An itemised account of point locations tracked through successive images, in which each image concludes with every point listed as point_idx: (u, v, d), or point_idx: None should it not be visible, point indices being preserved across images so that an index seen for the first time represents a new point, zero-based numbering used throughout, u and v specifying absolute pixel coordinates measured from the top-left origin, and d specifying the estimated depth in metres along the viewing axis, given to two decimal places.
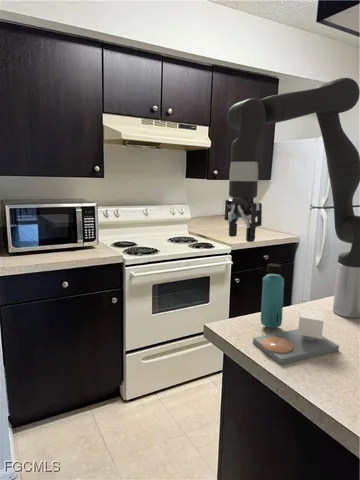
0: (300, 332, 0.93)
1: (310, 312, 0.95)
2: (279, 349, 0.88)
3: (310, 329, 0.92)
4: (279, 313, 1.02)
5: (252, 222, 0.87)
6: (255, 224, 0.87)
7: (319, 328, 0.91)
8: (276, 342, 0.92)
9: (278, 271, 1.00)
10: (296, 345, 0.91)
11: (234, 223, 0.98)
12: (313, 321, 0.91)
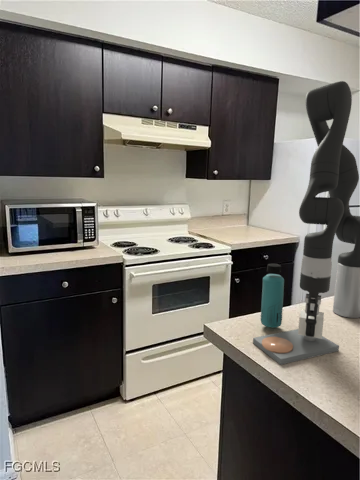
0: (300, 332, 0.93)
1: None
2: (279, 349, 0.88)
3: None
4: (279, 313, 1.02)
5: None
6: None
7: (319, 328, 0.91)
8: (276, 342, 0.92)
9: (278, 271, 1.00)
10: (296, 345, 0.91)
11: None
12: None
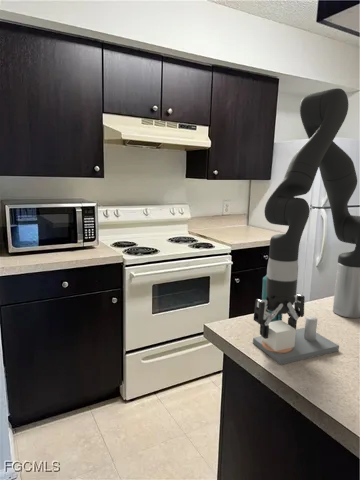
0: (262, 339, 0.92)
1: (283, 324, 0.91)
2: None
3: (268, 338, 0.89)
4: None
5: (302, 313, 0.91)
6: None
7: (273, 339, 0.87)
8: None
9: None
10: (296, 345, 0.91)
11: None
12: (270, 330, 0.89)
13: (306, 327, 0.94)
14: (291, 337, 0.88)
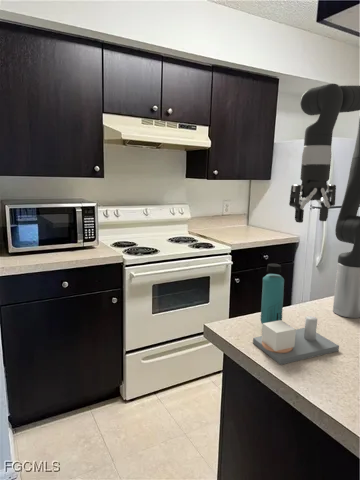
0: (262, 339, 0.92)
1: (283, 324, 0.91)
2: None
3: (268, 338, 0.89)
4: (279, 313, 1.02)
5: (333, 202, 0.98)
6: None
7: (273, 339, 0.87)
8: None
9: (278, 271, 1.00)
10: (296, 345, 0.91)
11: None
12: (270, 330, 0.89)
13: (306, 327, 0.94)
14: (291, 337, 0.88)
